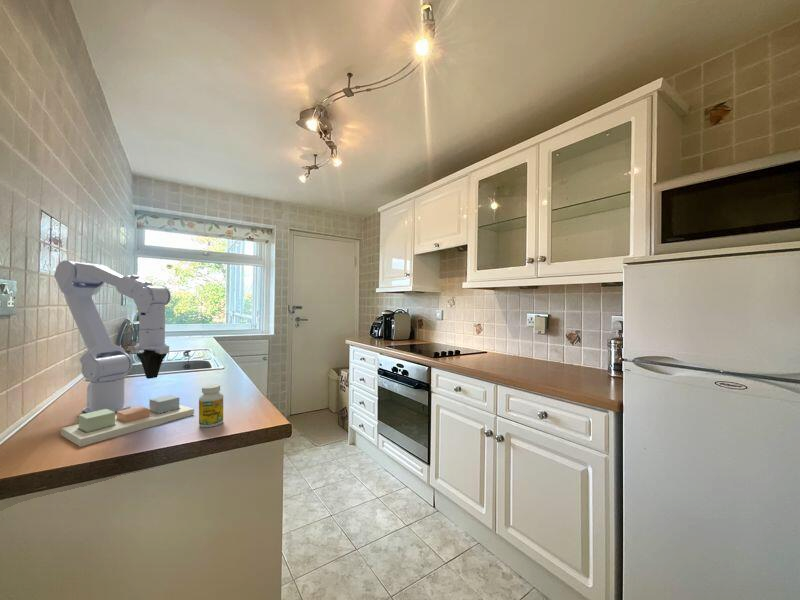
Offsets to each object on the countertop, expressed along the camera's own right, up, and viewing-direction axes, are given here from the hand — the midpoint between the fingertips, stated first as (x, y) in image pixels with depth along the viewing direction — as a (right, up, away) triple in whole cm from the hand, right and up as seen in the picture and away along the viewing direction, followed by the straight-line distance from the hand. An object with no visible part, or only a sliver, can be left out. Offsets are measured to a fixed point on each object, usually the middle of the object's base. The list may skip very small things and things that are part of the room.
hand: (151, 377), depth 90 cm
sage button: (-2, -8, -14) cm, 16 cm away
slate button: (+5, -8, -2) cm, 10 cm away
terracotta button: (+1, -9, -8) cm, 12 cm away
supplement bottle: (+21, -10, -8) cm, 25 cm away
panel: (+1, -10, -8) cm, 13 cm away
